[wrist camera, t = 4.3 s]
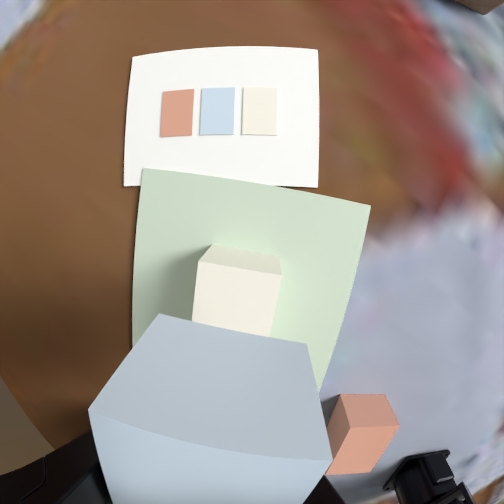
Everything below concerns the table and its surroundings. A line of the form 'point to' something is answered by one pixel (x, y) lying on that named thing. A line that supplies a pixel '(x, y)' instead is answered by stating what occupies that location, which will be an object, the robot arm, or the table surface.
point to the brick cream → (237, 289)
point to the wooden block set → (481, 5)
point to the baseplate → (253, 239)
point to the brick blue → (210, 419)
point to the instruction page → (225, 114)
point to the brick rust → (359, 432)
